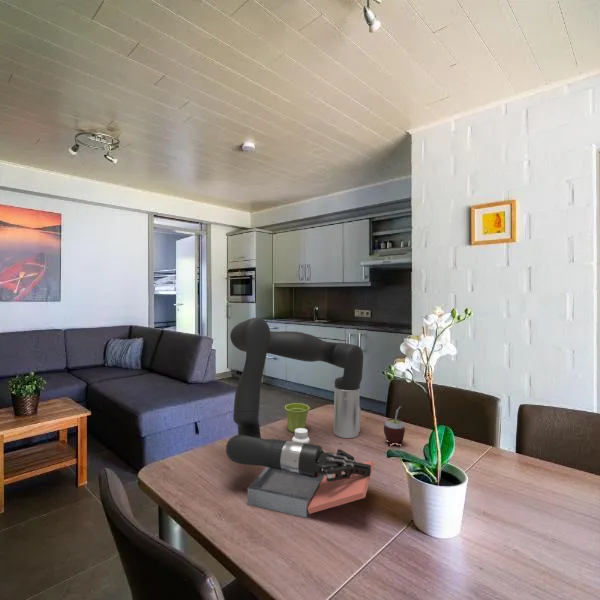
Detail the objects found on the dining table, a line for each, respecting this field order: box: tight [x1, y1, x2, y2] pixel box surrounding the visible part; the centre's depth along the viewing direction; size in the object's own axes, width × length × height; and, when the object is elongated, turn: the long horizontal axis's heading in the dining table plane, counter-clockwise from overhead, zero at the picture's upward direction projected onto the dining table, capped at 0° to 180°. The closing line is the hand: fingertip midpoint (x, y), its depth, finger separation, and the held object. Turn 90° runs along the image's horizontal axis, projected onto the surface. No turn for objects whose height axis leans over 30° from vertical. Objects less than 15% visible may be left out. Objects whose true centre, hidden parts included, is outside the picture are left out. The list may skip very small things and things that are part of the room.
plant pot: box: [284, 402, 311, 433], centre depth 135 cm, size 9×9×9 cm
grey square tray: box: [247, 467, 325, 519], centre depth 92 cm, size 15×16×4 cm
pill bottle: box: [291, 428, 311, 444], centre depth 109 cm, size 5×5×10 cm
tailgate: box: [307, 460, 374, 515], centre depth 88 cm, size 2×16×14 cm
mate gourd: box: [383, 405, 406, 445], centre depth 124 cm, size 8×8×15 cm
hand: (370, 470), depth 85 cm, fingers closed
